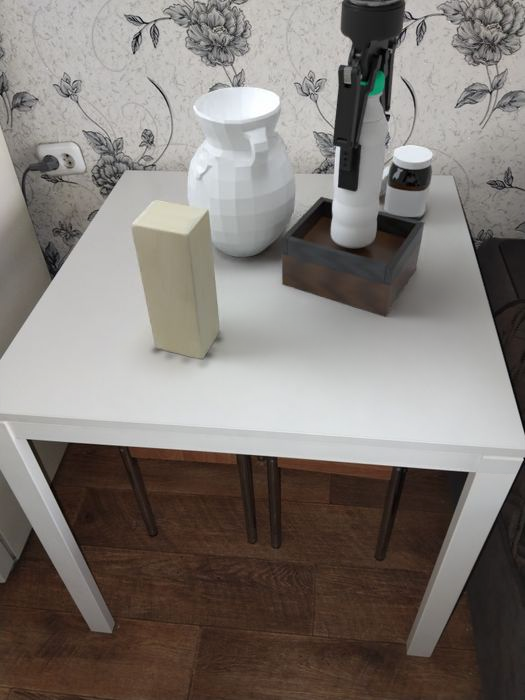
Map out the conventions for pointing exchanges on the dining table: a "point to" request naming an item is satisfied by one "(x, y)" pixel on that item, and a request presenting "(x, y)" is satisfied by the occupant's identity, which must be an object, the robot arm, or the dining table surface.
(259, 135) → the white vase
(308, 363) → the dining table surface
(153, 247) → the beige rectangular block
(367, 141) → the water bottle
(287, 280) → the open rectangular box
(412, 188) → the spread jar
